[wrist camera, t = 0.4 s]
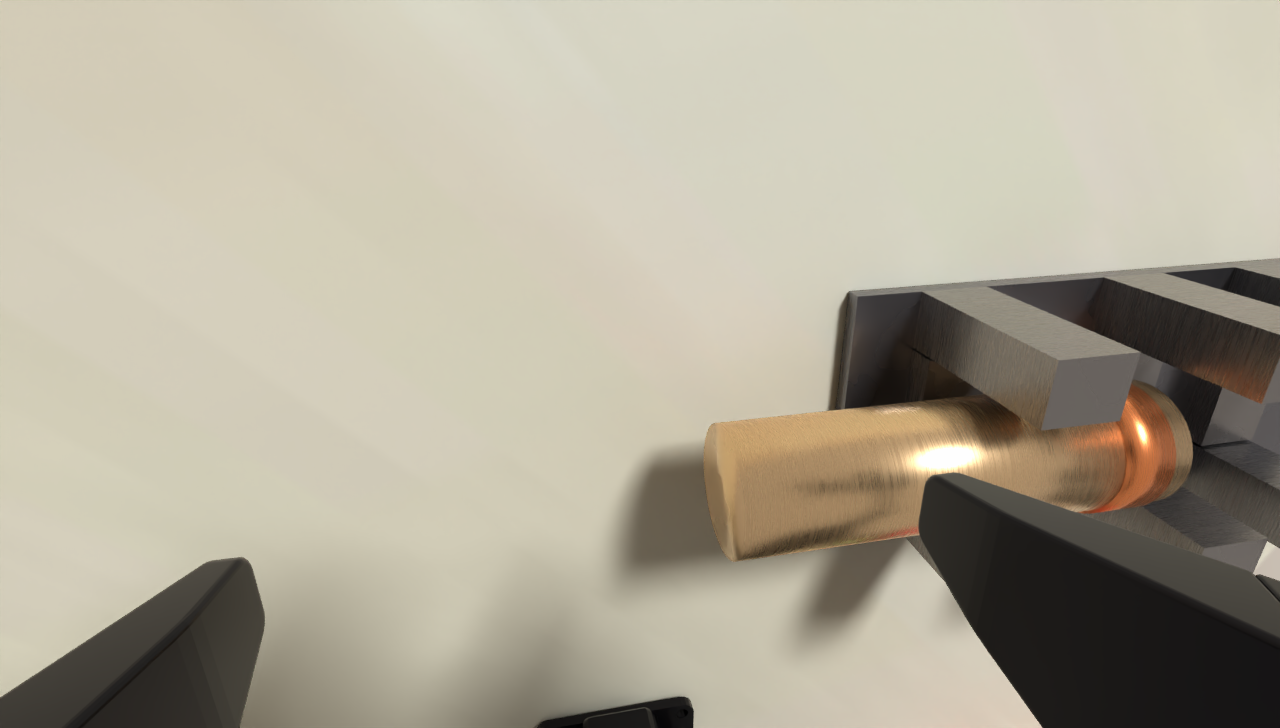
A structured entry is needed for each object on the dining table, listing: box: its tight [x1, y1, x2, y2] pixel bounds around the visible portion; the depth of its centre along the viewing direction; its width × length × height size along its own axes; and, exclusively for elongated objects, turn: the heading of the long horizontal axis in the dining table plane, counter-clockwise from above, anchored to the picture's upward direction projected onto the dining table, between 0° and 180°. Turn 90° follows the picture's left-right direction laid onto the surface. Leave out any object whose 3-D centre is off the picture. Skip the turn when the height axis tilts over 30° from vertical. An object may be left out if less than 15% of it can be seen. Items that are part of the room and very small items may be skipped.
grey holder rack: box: [836, 259, 1280, 580], centre depth 22 cm, size 9×21×9 cm, turn 91°
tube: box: [704, 380, 1193, 562], centre depth 21 cm, size 4×14×4 cm, turn 91°
